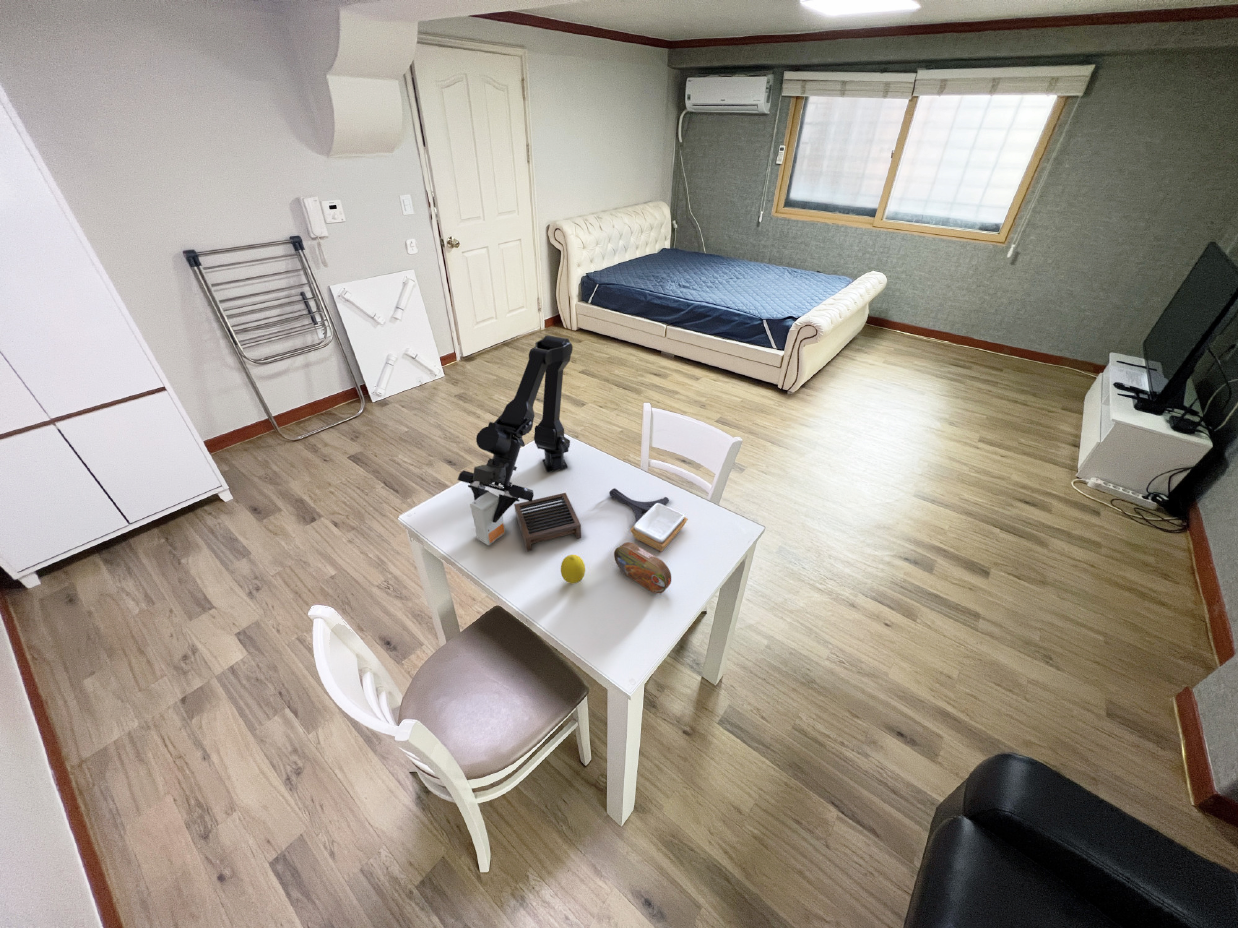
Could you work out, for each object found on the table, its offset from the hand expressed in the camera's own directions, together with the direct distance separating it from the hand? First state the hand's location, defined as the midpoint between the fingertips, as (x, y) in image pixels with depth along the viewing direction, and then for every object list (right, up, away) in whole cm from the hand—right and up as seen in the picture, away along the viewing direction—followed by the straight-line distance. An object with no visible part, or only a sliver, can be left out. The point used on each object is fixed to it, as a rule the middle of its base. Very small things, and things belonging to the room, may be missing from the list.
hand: (485, 519), depth 120 cm
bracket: (+37, +2, +15) cm, 40 cm away
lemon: (+22, -14, -7) cm, 27 cm away
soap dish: (+43, -5, +6) cm, 44 cm away
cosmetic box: (0, -5, +5) cm, 7 cm away
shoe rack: (+14, -3, +8) cm, 16 cm away
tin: (+38, -13, -6) cm, 41 cm away
